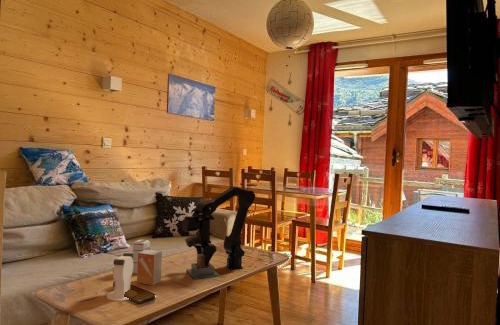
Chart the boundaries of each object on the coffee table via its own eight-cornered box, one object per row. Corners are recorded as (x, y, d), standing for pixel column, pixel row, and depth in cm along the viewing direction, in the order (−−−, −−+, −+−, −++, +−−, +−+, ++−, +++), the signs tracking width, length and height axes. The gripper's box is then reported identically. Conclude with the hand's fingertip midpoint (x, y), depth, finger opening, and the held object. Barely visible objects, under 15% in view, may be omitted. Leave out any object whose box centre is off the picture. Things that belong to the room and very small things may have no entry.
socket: (210, 268, 178) (210, 260, 178) (219, 276, 167) (219, 267, 167) (186, 271, 173) (186, 262, 172) (193, 279, 162) (194, 270, 162)
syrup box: (143, 274, 166) (144, 242, 166) (131, 273, 167) (132, 241, 167) (149, 270, 171) (150, 240, 171) (138, 269, 172) (139, 238, 172)
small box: (136, 283, 154) (137, 252, 154) (145, 278, 160) (146, 249, 160) (153, 285, 152) (154, 254, 152) (161, 281, 158) (162, 251, 158)
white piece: (114, 288, 147) (115, 251, 147) (142, 290, 147) (143, 252, 147) (101, 300, 135) (102, 259, 135) (131, 301, 135) (133, 261, 135)
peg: (205, 270, 173) (206, 253, 173) (208, 273, 169) (209, 255, 169) (196, 271, 171) (197, 254, 171) (199, 273, 167) (200, 256, 167)
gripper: (181, 226, 174) (180, 259, 175) (193, 234, 158) (192, 270, 158) (203, 225, 179) (202, 257, 179) (217, 233, 162) (216, 268, 163)
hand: (202, 263), depth 170 cm, fingers open, 9 cm apart
